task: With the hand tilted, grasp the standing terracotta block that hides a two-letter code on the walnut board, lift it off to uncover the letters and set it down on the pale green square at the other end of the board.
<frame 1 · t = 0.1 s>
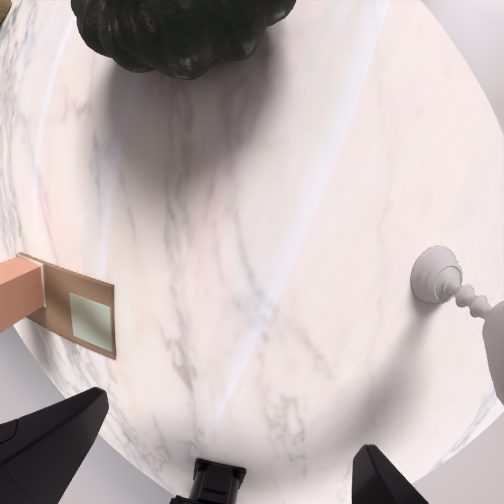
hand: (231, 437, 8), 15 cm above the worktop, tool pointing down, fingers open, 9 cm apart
chalice: (434, 274, 20), on the worktop
walnut code board: (61, 302, 25), on the worktop
terracotta block: (29, 280, 24), point 1 cm above the worktop, touching walnut code board
squash: (205, 20, 17), on the worktop
squeeze bottle: (1, 16, 16), on the worktop
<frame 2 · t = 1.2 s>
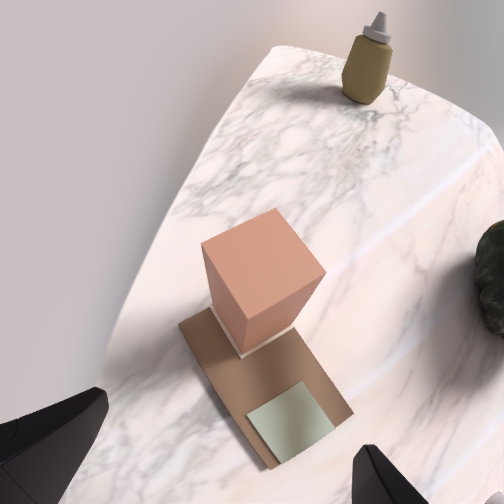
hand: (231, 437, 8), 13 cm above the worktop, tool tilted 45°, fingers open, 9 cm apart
walnut code board: (265, 374, 21), on the worktop
terracotta block: (251, 316, 23), point 1 cm above the worktop, touching walnut code board
squash: (494, 298, 25), on the worktop
squeeze bottle: (357, 97, 44), on the worktop
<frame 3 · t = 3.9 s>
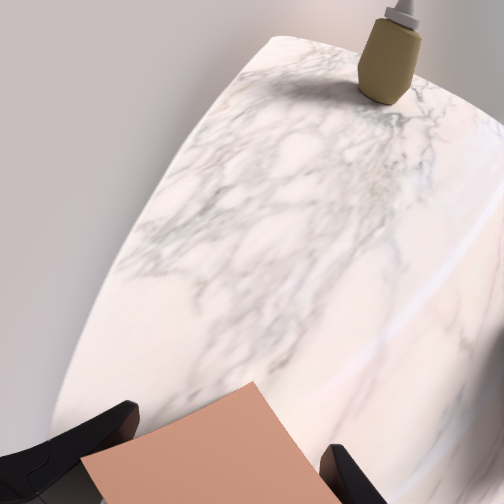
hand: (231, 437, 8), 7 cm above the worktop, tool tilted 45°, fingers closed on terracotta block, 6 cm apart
terracotta block: (227, 446, 13), point 1 cm above the worktop, touching gripper, walnut code board
squeeze bottle: (376, 96, 34), on the worktop
when the fingers open (8 cm above the worktop, at t = 7.1 s): terracotta block drops 1 cm, resting on walnut code board.
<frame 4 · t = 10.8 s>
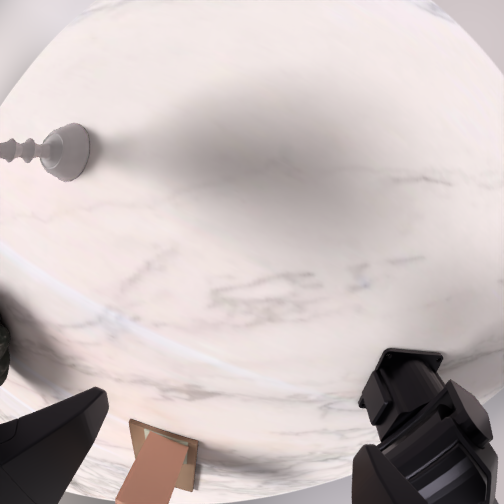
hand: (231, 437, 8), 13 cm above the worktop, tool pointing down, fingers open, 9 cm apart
chalice: (69, 152, 19), on the worktop
walnut code board: (164, 459, 27), on the worktop
terracotta block: (166, 448, 25), point 1 cm above the worktop, touching walnut code board
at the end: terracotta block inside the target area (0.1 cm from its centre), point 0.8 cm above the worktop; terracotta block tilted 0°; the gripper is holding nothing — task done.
